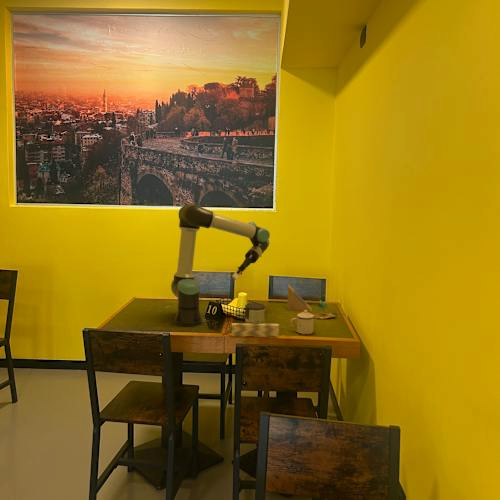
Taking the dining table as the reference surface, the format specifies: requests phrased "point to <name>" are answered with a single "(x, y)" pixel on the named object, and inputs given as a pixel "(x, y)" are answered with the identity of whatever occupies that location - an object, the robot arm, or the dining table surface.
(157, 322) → the dining table surface
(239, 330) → the birch board
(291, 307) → the sandwich container
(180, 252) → the robot arm
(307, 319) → the teacup with lid
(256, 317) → the coffee can
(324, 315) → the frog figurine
